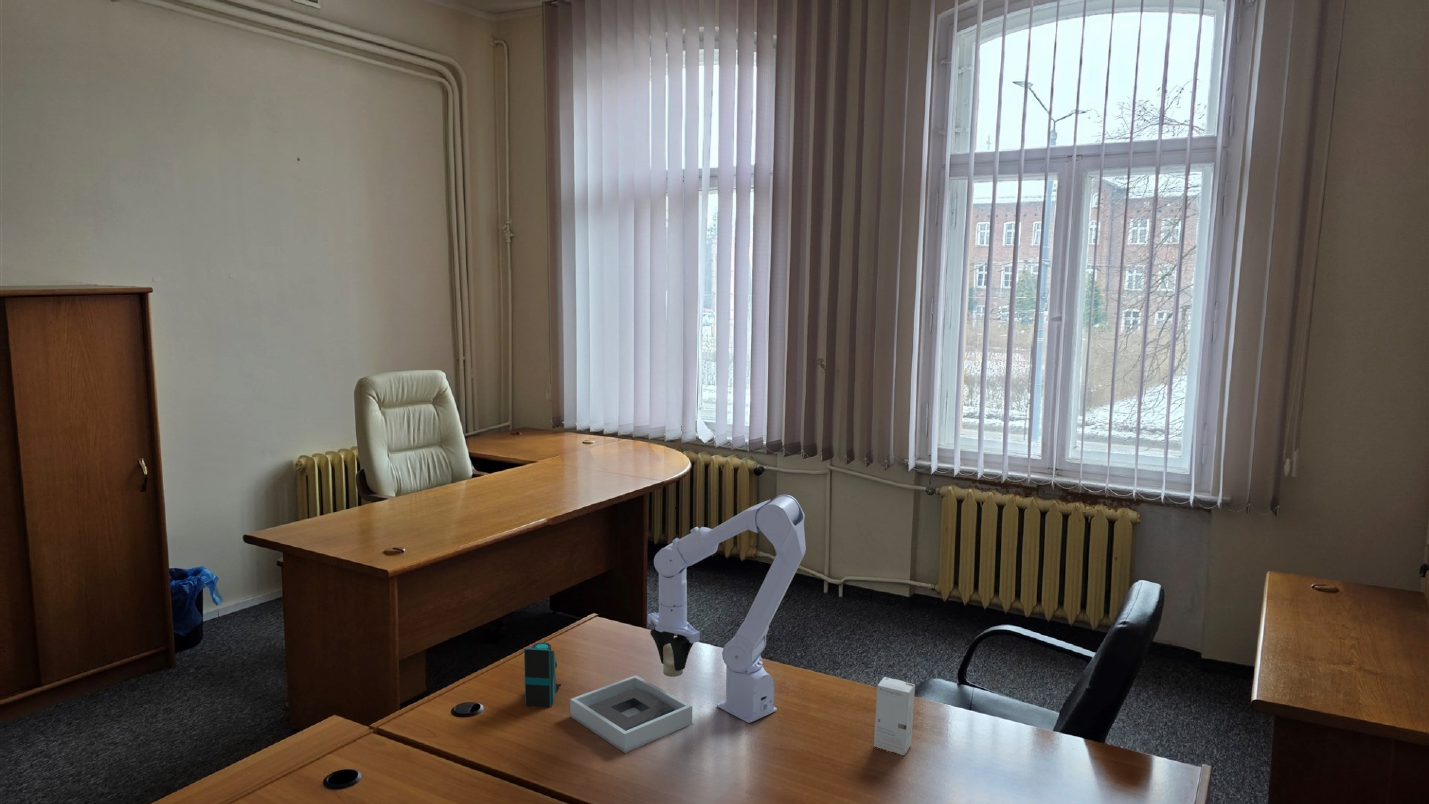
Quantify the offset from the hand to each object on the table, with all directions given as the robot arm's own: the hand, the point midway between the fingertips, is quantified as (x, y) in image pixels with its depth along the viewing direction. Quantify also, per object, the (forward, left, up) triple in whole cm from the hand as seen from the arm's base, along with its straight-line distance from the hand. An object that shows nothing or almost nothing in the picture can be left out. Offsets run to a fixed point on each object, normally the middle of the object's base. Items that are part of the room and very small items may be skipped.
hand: (673, 665), depth 172 cm
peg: (0, 0, -2) cm, 2 cm away
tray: (-3, +13, -6) cm, 15 cm away
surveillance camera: (+17, +20, -6) cm, 27 cm away
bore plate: (-3, +13, -6) cm, 15 cm away
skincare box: (-43, -17, -6) cm, 47 cm away
